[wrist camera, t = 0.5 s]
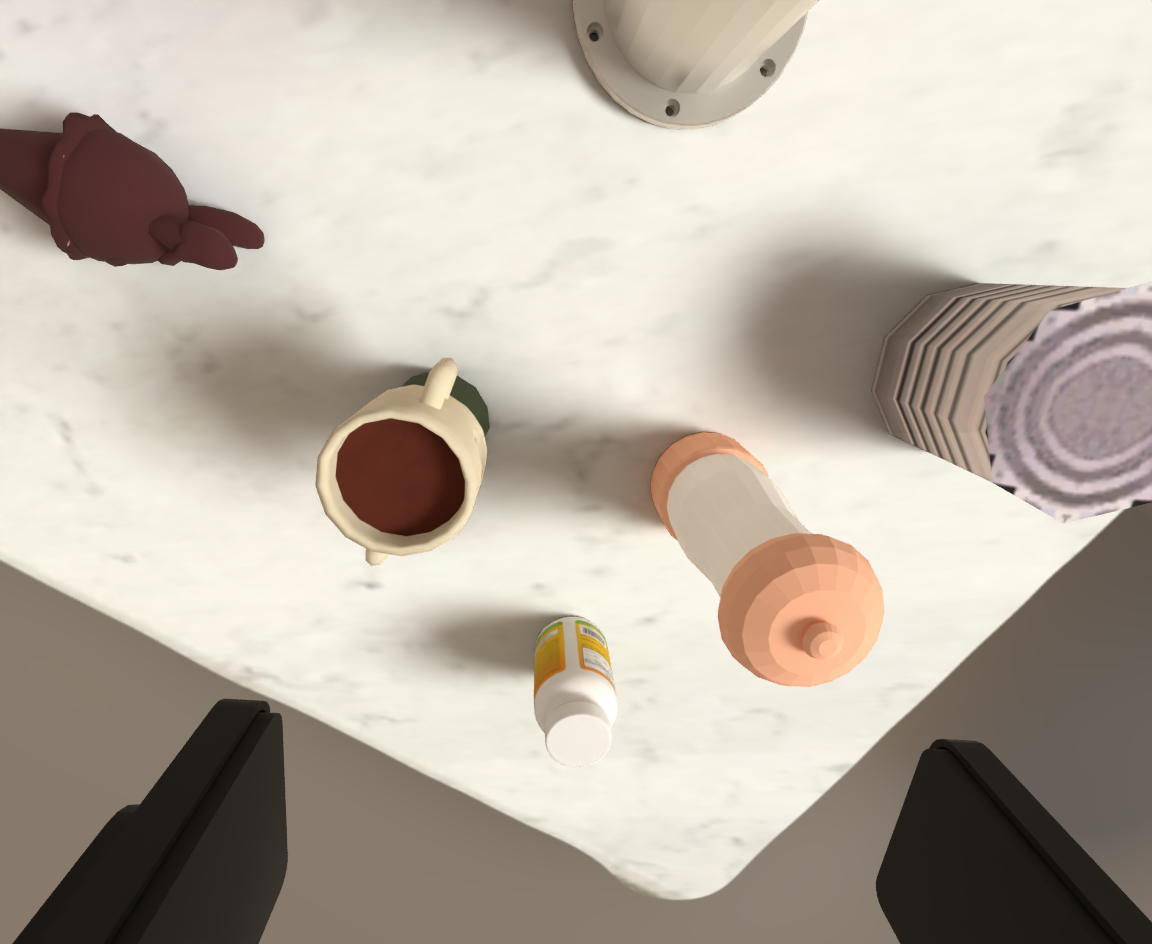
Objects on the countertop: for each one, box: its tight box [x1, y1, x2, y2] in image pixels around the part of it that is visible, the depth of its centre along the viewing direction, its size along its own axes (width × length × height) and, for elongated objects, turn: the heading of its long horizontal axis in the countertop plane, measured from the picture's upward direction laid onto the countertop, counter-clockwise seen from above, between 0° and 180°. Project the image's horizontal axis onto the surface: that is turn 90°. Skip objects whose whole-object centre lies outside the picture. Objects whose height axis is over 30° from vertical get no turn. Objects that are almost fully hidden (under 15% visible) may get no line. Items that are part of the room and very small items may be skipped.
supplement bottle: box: [534, 617, 618, 767], centre depth 41 cm, size 5×5×10 cm
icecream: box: [0, 113, 264, 270], centre depth 31 cm, size 7×7×15 cm
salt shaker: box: [651, 432, 884, 687], centre depth 33 cm, size 7×7×19 cm
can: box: [871, 282, 1152, 523], centre depth 35 cm, size 11×11×12 cm
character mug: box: [316, 358, 490, 566], centre depth 33 cm, size 11×7×13 cm, turn 157°
